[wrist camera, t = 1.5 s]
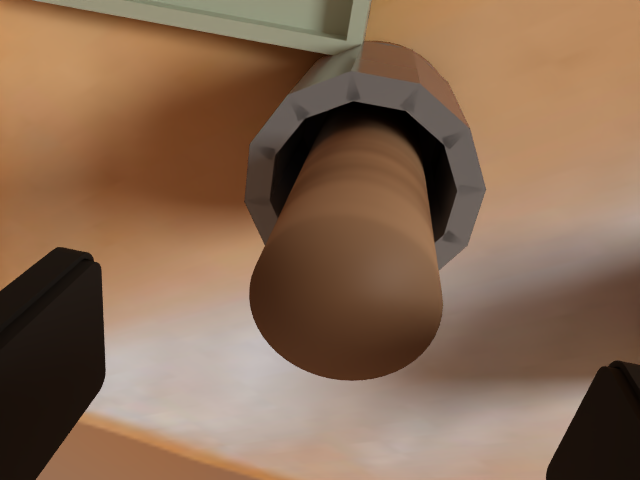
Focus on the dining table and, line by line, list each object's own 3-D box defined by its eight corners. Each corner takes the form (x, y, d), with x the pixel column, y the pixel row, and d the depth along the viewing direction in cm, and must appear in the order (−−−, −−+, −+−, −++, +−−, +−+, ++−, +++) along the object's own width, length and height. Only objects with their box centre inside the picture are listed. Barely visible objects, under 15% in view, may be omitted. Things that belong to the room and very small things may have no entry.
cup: (302, 26, 22) (258, 53, 14) (475, 58, 21) (515, 101, 14) (282, 186, 25) (238, 270, 18) (430, 215, 25) (445, 312, 18)
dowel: (331, 77, 21) (259, 200, 10) (428, 95, 21) (467, 241, 10) (317, 168, 23) (241, 359, 12) (405, 185, 23) (416, 396, 12)
